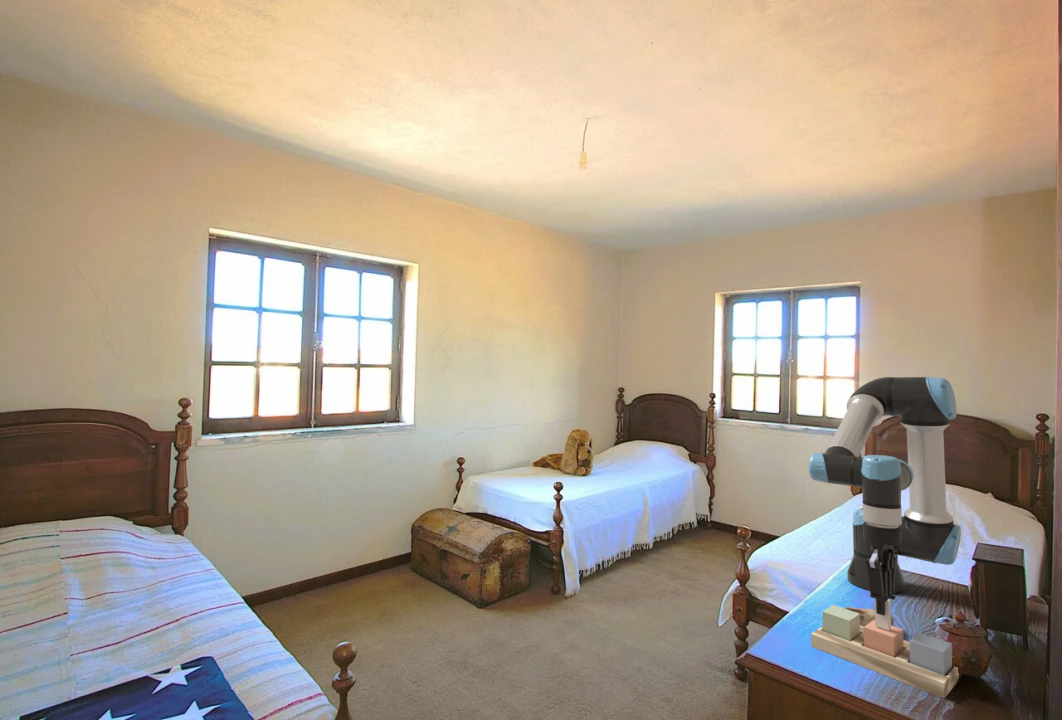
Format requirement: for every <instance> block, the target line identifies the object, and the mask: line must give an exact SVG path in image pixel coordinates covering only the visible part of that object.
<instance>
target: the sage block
mask: <svg viewBox="0 0 1062 720" xmlns="http://www.w3.org/2000/svg"><path fill="white" fill-rule="evenodd" d="M822 626H823V632H826V633H829V634H832V635H834V636H837V637H840V638H843V639H845V640H848V641H852V640H853V639H855V638H856V637H857V636H859V635H860V614H859V613H856V612H853V611H850V610H847V609H845V608H843V607H841V606H838V605H834V604H833V605H831V606H829V607H828V608H826V609H824V610H822Z"/></svg>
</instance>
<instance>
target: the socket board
mask: <svg viewBox="0 0 1062 720" xmlns="http://www.w3.org/2000/svg"><path fill="white" fill-rule="evenodd" d="M810 644H811V645H810V647H812V648H813V649H817V650H819V651H822V652H824V653H828V654H830V655H833V656H834V657H837V658H840V659H842V660H844V661H848V662H850V663H852V664H855V665H857V666H859V667H862V668H865V669H868V670H871V671H873V672H876V673H878V674H881V675H883V676H885V677H886V676H887V677H888V678H891V679H893V680H896V681H899V682H901V683H904V684H905V685H909V686H912V687H914V688H916V689H919V690H921V691H923V692H926V693H929V694H932V695H934V696H937V697H940V698H942V699H945V698H946V697H947V696H948V695H949V693H951V691H952V689H953V688H954V687H955V686H956V684H958V682H959V681H958V679H959V673H958V667H955V666H954V668H953V669H952V670H951V671H950V672H949V673H947V674H948V675H945V676H944V675H941V674H939V673H936V672H933V671H930V670H928V669H925V668H922V667H919V666H917V665H914V664H911V663H910V641H907V640H906V639H903V648H904V651H903V652H902V653H901V654H899V655H898V656H897V657H896V658H895V657H892V656H889V655H886V654H884V653H881V652H878V651H875V650H873V649H870V648H867V647H864V626H861V625H860V635H859V636H857V637H856V638H855V639H853V640H852V641H848V640H845V639H843V638H840V637H837V636H834V635H832V634H829V633H826V632H823V625H822V626H821V627H819V628H818V629H816V630H815V631H813V632H811V634H810ZM957 681H958V682H957Z"/></svg>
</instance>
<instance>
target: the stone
mask: <svg viewBox="0 0 1062 720" xmlns="http://www.w3.org/2000/svg"><path fill="white" fill-rule="evenodd" d="M844 609H847V610H850V611H853V612H856V613H859V614H860V625H861V626H864V627H865V626H866V625H867V624H869V623H870V622H871V621H873V620H875V609H873V608H861V607H859V608H857V607H850V606H846V607H845V608H844ZM894 623H895V620H894V617H893V616H892V615H891V625H892V626H894Z"/></svg>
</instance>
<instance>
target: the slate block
mask: <svg viewBox="0 0 1062 720" xmlns="http://www.w3.org/2000/svg"><path fill="white" fill-rule="evenodd" d="M909 642H910V663H911V664H914V665H917V666H919V667H922V668H925V669H928V670H930V671H933V672H936V673H939V674H941V675H944V676H947V675H946V674H947V673H948V671H949V670H950V669H951V668H952V657H953V643H952V642H949V641H946V640H942V639H940V638H936V637H934V636H930V635H927V634H925V633H922V632H918V633H917V634H916V635H914V636H913V637H912V638H911V639H910V640H909Z"/></svg>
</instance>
